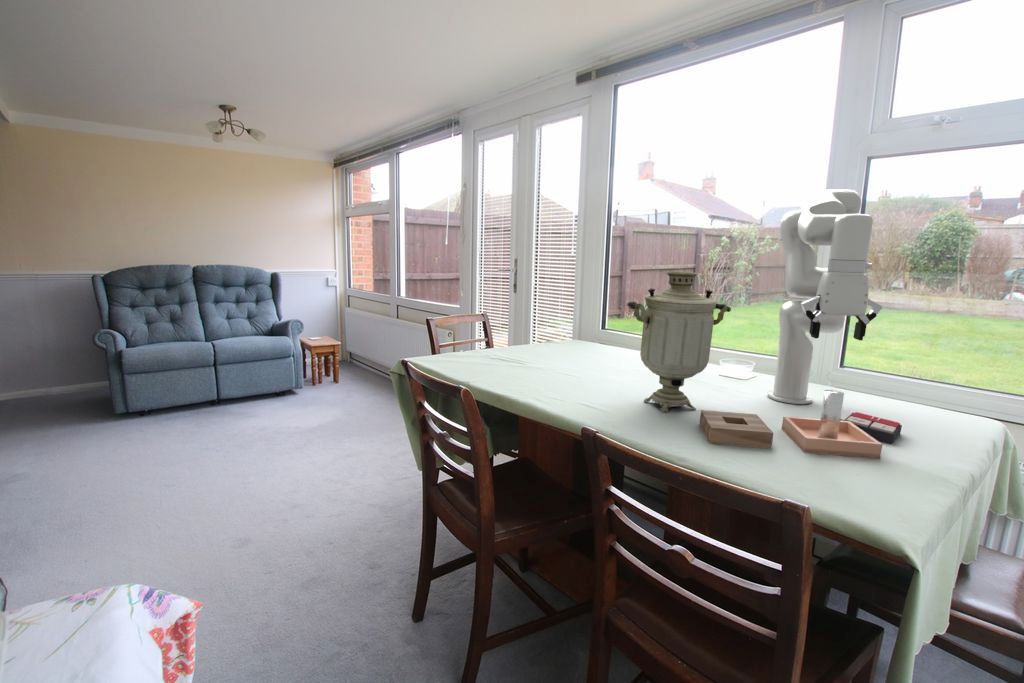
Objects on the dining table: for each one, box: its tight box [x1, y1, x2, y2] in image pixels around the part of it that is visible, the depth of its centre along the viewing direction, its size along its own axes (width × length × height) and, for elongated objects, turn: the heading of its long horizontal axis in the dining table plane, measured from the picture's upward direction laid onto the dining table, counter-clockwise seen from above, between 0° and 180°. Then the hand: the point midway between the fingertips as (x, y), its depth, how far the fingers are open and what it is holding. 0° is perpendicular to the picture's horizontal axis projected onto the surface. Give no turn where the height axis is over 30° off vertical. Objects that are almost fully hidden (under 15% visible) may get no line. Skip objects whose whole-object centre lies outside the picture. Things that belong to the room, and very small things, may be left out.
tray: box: [781, 415, 883, 460], centre depth 124 cm, size 16×16×4 cm
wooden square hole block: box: [699, 409, 774, 450], centre depth 127 cm, size 14×14×4 cm
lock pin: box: [818, 389, 845, 439], centre depth 123 cm, size 4×4×12 cm
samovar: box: [626, 271, 732, 414], centre depth 150 cm, size 30×26×40 cm
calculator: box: [840, 408, 903, 445], centre depth 132 cm, size 11×4×15 cm
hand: (836, 338), depth 122 cm, fingers open, 9 cm apart
